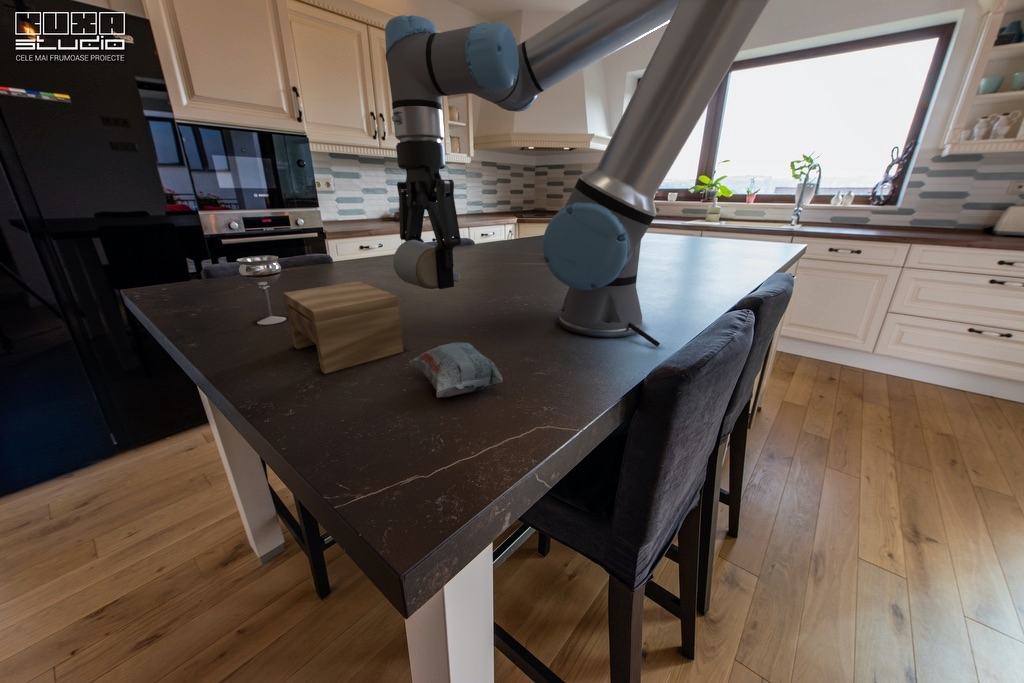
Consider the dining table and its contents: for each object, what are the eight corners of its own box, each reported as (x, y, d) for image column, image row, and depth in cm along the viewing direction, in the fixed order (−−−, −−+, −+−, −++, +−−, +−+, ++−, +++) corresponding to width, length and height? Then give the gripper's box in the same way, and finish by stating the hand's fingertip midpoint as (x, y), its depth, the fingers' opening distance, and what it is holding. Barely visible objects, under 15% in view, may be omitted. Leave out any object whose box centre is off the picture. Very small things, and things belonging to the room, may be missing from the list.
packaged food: (437, 414, 45) (435, 374, 43) (409, 374, 54) (406, 340, 53) (505, 397, 49) (505, 360, 47) (467, 363, 58) (467, 331, 57)
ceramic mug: (418, 293, 64) (415, 245, 62) (394, 285, 70) (390, 241, 67) (470, 284, 71) (469, 240, 68) (445, 278, 77) (442, 237, 74)
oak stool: (403, 351, 62) (397, 296, 59) (324, 374, 55) (313, 311, 51) (365, 330, 72) (358, 281, 69) (294, 346, 64) (282, 292, 61)
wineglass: (268, 314, 81) (254, 255, 76) (298, 316, 80) (286, 256, 75) (242, 325, 74) (226, 261, 70) (275, 326, 73) (261, 262, 69)
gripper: (368, 146, 67) (385, 278, 75) (436, 132, 53) (448, 297, 61) (408, 149, 72) (420, 273, 80) (480, 136, 57) (485, 289, 65)
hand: (432, 283), depth 70 cm, fingers closed on ceramic mug, 8 cm apart
